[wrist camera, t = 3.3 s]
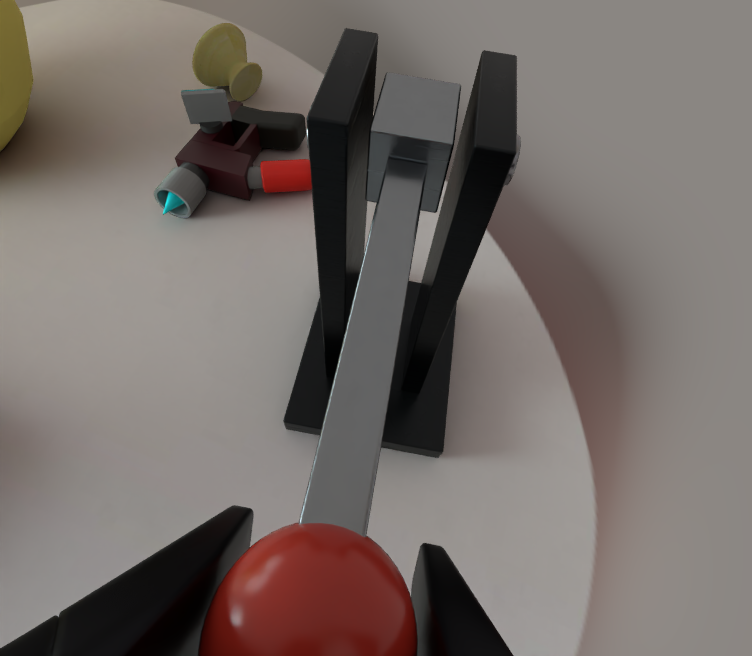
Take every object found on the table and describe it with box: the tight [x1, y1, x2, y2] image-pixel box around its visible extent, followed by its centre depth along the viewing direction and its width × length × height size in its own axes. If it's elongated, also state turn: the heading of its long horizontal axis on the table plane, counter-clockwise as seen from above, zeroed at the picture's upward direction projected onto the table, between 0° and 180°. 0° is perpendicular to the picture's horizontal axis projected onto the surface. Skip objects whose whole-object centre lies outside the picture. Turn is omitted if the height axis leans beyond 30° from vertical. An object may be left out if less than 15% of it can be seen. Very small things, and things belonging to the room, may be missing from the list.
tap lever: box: [198, 72, 461, 656], centre depth 10 cm, size 15×3×3 cm, turn 170°
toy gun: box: [154, 89, 312, 218], centre depth 29 cm, size 10×12×5 cm
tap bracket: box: [284, 28, 521, 458], centre depth 18 cm, size 10×8×16 cm
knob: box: [192, 23, 262, 101], centre depth 35 cm, size 5×5×5 cm
